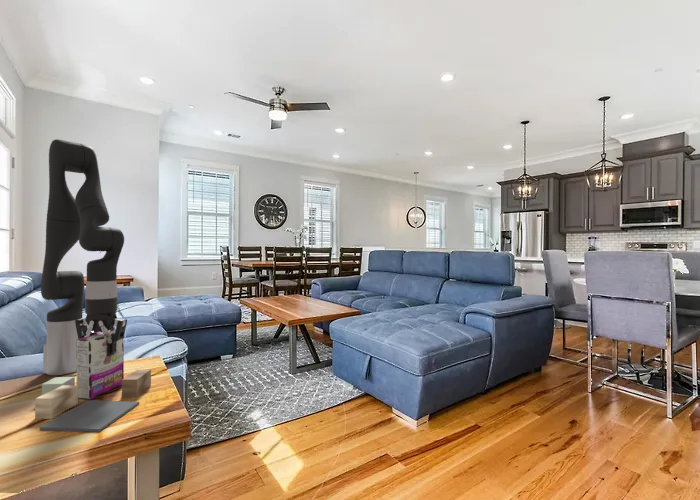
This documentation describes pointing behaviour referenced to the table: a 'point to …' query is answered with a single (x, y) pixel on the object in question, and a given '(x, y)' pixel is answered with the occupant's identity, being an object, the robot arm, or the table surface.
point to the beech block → (56, 401)
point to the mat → (90, 416)
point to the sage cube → (57, 383)
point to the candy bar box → (98, 366)
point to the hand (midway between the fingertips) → (100, 354)
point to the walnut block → (136, 383)
